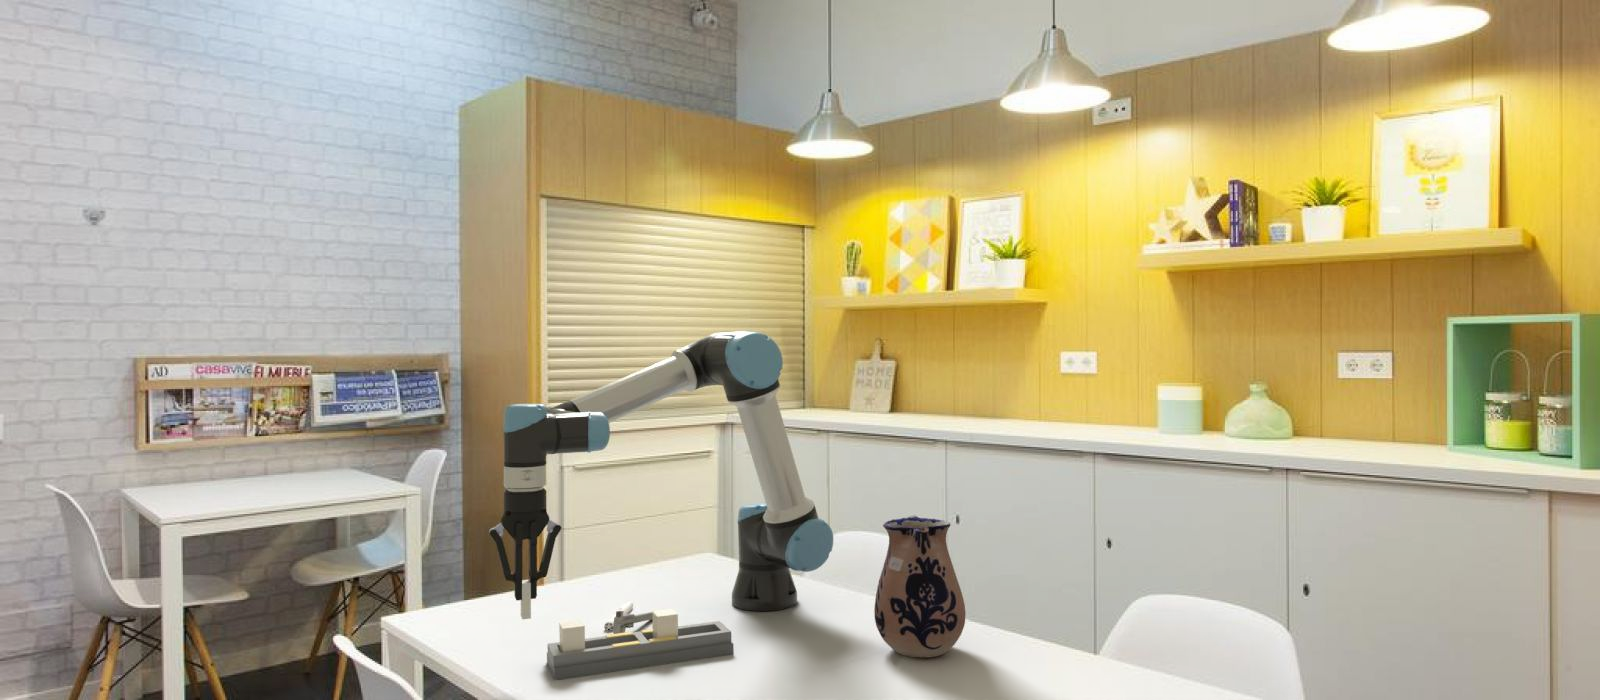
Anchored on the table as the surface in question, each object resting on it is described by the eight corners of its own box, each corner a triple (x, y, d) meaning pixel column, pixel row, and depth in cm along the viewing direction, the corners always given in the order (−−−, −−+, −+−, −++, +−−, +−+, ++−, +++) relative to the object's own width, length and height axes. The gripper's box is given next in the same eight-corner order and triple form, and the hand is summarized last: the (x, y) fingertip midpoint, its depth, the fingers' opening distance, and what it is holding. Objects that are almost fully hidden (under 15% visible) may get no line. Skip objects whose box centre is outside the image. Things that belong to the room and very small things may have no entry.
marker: (626, 607, 219) (626, 597, 219) (635, 607, 219) (635, 597, 219) (604, 631, 201) (603, 620, 201) (613, 631, 201) (613, 620, 201)
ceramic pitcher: (887, 669, 176) (885, 534, 175) (862, 634, 196) (860, 513, 196) (978, 663, 178) (977, 529, 178) (944, 629, 199) (942, 509, 199)
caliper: (617, 644, 193) (617, 613, 193) (613, 643, 193) (612, 612, 193) (662, 615, 212) (662, 587, 212) (658, 615, 213) (658, 587, 213)
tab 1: (581, 651, 181) (580, 620, 181) (585, 658, 177) (584, 625, 177) (559, 654, 179) (559, 622, 179) (563, 661, 176) (562, 628, 176)
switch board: (717, 638, 195) (717, 618, 195) (733, 653, 185) (733, 632, 185) (546, 662, 182) (546, 640, 181) (554, 680, 172) (554, 656, 172)
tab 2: (672, 639, 188) (672, 608, 188) (678, 645, 184) (677, 614, 184) (652, 641, 186) (652, 611, 186) (657, 647, 183) (657, 616, 183)
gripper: (489, 493, 169) (490, 626, 169) (564, 489, 174) (565, 618, 174) (486, 487, 176) (486, 615, 176) (558, 483, 181) (558, 607, 181)
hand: (525, 616), depth 175 cm, fingers closed
